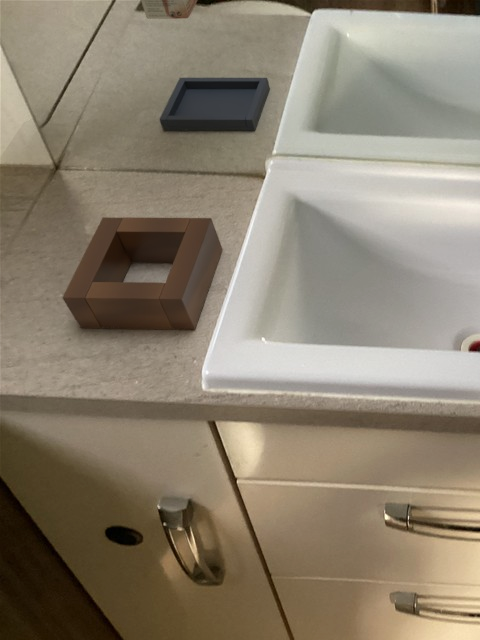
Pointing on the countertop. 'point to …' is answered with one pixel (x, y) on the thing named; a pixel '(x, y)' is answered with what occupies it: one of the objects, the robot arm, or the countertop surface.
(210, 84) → the tray
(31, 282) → the countertop surface
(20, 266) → the countertop surface
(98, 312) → the frame
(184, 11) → the printed product carton
